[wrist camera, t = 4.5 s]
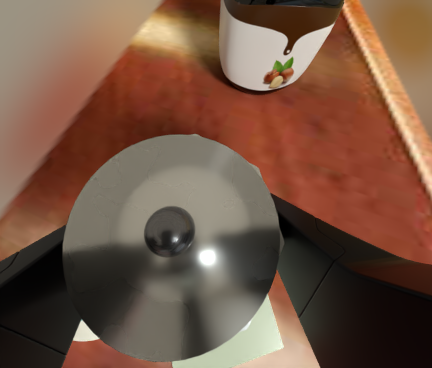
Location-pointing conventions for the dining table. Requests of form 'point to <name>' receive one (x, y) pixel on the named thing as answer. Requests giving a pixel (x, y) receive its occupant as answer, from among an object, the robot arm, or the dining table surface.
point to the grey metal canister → (171, 248)
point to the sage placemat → (242, 343)
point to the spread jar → (272, 40)
